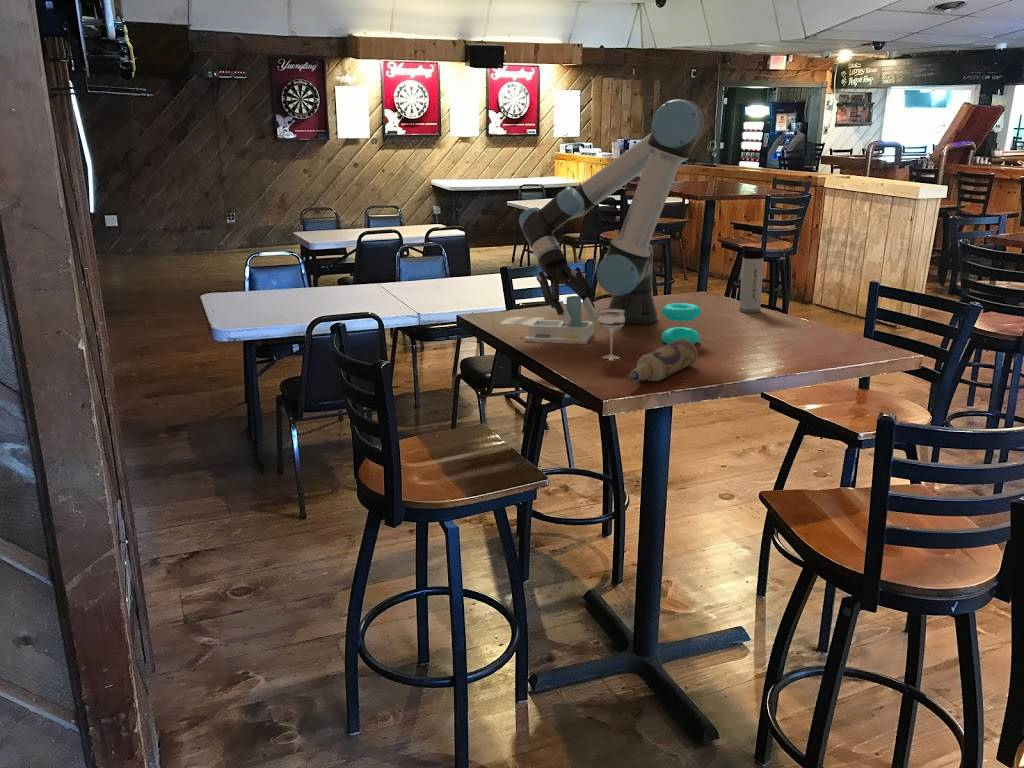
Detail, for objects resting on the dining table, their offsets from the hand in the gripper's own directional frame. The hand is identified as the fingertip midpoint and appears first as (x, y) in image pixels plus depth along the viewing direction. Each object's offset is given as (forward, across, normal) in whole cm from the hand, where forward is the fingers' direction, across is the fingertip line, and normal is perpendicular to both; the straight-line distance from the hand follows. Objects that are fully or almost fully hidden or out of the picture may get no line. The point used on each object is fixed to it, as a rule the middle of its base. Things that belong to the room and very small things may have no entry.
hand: (582, 321), depth 228 cm
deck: (-14, +4, -21) cm, 26 cm away
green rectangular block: (0, 0, -5) cm, 5 cm away
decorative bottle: (+32, +6, +24) cm, 40 cm away
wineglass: (+18, +6, +11) cm, 22 cm away
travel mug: (+4, -63, -3) cm, 63 cm away
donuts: (+17, -19, +10) cm, 27 cm away
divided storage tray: (0, +4, -7) cm, 8 cm away
